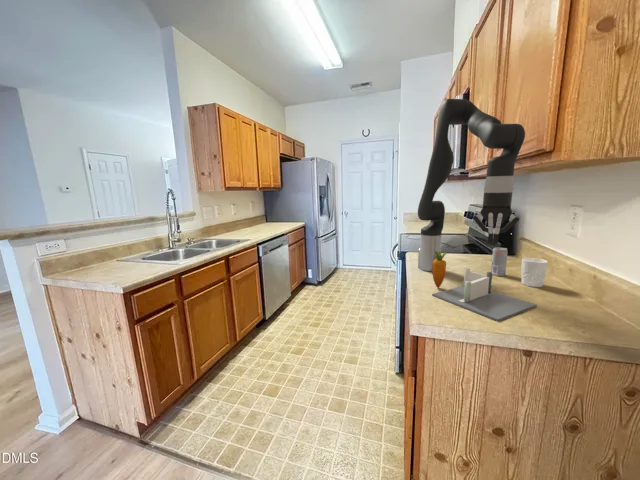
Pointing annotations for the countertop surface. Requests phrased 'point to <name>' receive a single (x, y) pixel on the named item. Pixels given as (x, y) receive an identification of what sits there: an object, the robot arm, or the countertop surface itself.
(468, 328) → the countertop surface
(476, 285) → the fence gate
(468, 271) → the bar
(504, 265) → the energy drink
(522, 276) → the white cup
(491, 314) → the card
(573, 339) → the countertop surface
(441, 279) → the carrot
